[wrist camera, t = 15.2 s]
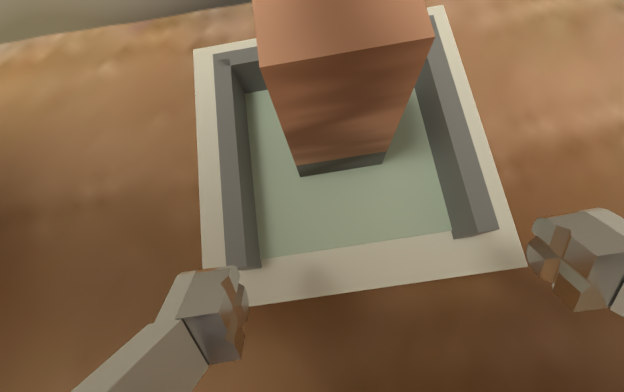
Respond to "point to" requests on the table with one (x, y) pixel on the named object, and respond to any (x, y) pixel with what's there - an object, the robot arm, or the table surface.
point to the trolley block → (340, 74)
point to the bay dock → (347, 188)
